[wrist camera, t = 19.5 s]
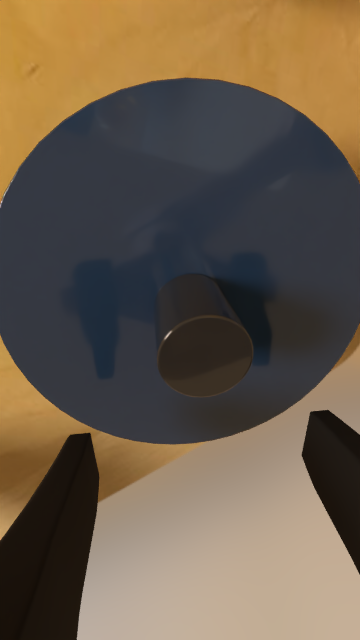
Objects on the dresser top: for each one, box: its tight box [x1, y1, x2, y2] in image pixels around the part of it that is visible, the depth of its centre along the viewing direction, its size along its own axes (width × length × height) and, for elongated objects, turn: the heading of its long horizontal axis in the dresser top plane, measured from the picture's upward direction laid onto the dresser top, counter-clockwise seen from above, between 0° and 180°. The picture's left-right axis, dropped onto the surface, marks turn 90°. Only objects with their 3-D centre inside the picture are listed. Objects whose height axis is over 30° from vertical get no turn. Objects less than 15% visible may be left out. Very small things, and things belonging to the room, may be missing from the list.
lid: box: [0, 78, 360, 444], centre depth 11 cm, size 13×13×4 cm
